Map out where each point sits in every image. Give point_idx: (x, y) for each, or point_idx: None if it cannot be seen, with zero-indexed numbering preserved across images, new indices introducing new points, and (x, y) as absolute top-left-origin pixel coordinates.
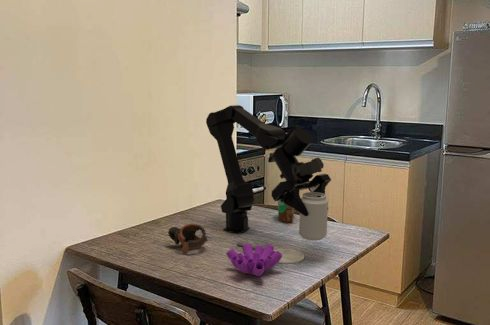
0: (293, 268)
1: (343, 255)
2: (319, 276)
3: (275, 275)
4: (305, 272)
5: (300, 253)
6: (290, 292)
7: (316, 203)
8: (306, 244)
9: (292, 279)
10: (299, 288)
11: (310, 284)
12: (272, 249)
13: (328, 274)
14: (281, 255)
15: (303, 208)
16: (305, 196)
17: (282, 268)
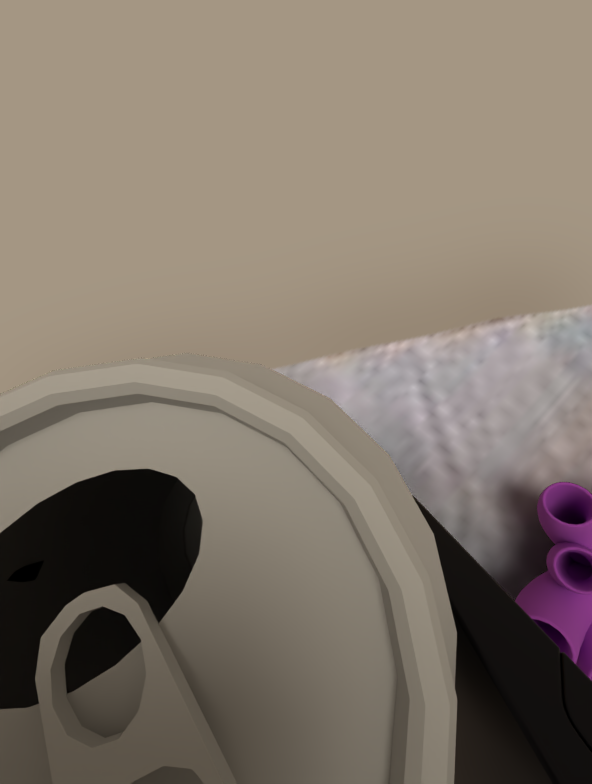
0: (425, 483)
1: None
2: (397, 359)
3: (539, 480)
4: (413, 420)
5: None
6: (580, 335)
7: (334, 408)
8: None
9: (504, 406)
10: (532, 336)
11: (475, 334)
12: (538, 605)
13: (355, 349)
14: (562, 482)
15: (476, 563)
16: (449, 765)
17: (466, 517)
